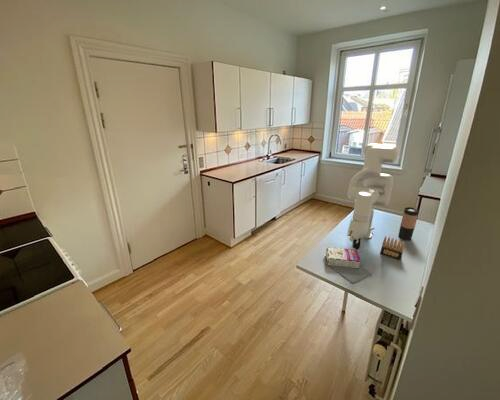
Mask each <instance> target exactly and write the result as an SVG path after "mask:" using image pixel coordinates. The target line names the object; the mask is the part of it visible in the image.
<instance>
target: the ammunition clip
mask: <svg viewBox="0 0 500 400" xmlns="http://www.w3.org/2000/svg"><path fill="white" fill-rule="evenodd" d="M394 239H395V240H394ZM390 240H391V241H390ZM401 240H402V239H399V240H398V239H397V238H394V237H392V238H391V237H390V236H389V237H388V238H387V235H386V236H384V237H383V241H382V244H381V249H380V251H379V252H380V253H379V255H382V256H385V257H388V258H391V259H394V260H398V261H402V257H403V253H404V248H405V240H403V241H402V242H401Z"/></svg>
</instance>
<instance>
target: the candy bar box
mask: <svg viewBox="0 0 500 400" xmlns="http://www.w3.org/2000/svg"><path fill="white" fill-rule="evenodd" d="M325 255H326V263H327V264H328V265H327V264H326V265H327V266H329V265H332V266H341V267H350V268H359V267H360V266H361V259H360V256H359V253H358V250H356V249H354V248H353V249H351V248H342V247H341V248H340V247H330V246H326V250H325Z"/></svg>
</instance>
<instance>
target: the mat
mask: <svg viewBox="0 0 500 400" xmlns="http://www.w3.org/2000/svg"><path fill="white" fill-rule="evenodd" d="M326 265H327V266H329V267H330V268H331V269H333V270H334V271H335V272H337V273H338V274H339V275H341V277H343V278H345V279H346V280H347V281H348V282H349V283H351V285H352V284H355V283H357V282H359V281H362V280H364V279H367V278H368V277H371V276H373V273H372V272H370V271H369V270H367V269H366V268H365V267H363V266H361V265H360V267H359V268H350V267H341V266H332V265H328V264H327V262H326Z"/></svg>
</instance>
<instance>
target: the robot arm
mask: <svg viewBox="0 0 500 400" xmlns="http://www.w3.org/2000/svg"><path fill="white" fill-rule="evenodd" d="M398 151H399V148H398V146H397V145H396V144H385V143H383V144H382V143H368V144H365V145H364V147H363V156H364V163H363V166H362V170H360V171H358V172H356V174H354V175H353V177H352V178H351V179H350V182H349V186H348V190H347V198H348V199H349V200H350V201H354V207H353V213H352V218H351V220H350V223H349V224H348V229H347V237H349V241H350V242H352V245H351V247H352V248H353V250H357V251H358V250H361V249H360V248H361V244H362V242H363V240H369V239H372V237H373V233H372V231H374V230H375V229H376V228H375V227H374V226H372V224H373V218H374V213H375V212H374V211H375V210H374V208H373V207H378V208H379V207H381V208H387V207H388V206H389V203H390V200H391V196H392V190H393V185H394V177H393V175H391V174H388V173H382V167H383V165H382V164H392V165H393V164H395V162H396V160H397V158H398V154H399V153H398ZM361 181H363V186H359V185H357V183H359V182H361ZM380 190H381V191H380Z"/></svg>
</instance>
